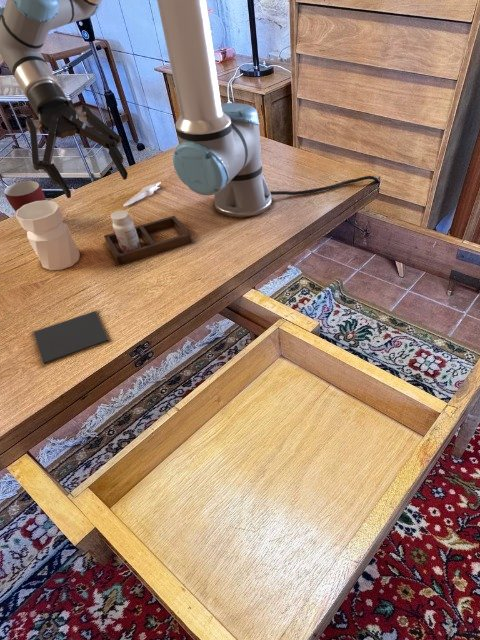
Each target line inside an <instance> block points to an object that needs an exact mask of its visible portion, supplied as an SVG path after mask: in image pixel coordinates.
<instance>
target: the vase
mask: <svg viewBox="0 0 480 640" xmlns="http://www.w3.org/2000/svg"><path fill="white" fill-rule="evenodd" d="M63 216H64V215H63V213H62V211H61V209H60V206H59V205H58V203H57V202H56V201H52V200H48V199H46V200H44V201H35V202H32V203H29V204H26V205H24V206H22V207H21V208H20V209H18V210H17V212H15V218H16V220H17V221H18V224H19V225H20V226H21V227H22V228H23V230H24V231H27V232H26V237H27V241H28V242H29V244H30V246H31V248H32V250H33V251H34V253H35V254H36V256H37V257H38V259H39V261H40V264H41V266H42V268H44V269H46V270H49V271H61V270H65V269H67V268H70V267H72V266H73V265H75V264H76V263H78V261H79V260H80V256H81V255H80V251H79V249H78V246H77V244H76V242H75V240H74V238H73V236H72V233H71V231H70V228H69V226H68V224H67V223H65V222H64V217H63Z"/></svg>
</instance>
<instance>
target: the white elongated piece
mask: <svg viewBox="0 0 480 640" xmlns="http://www.w3.org/2000/svg"><path fill="white" fill-rule="evenodd" d="M160 185H161V181H157V182H156V183H152V184H150V185H147V186H144V187H143V188H142V189H141V190H140V191H139V192H138V193H135V194H134V195H133V196H132V197H130V198H129V199H128V200H126V202H124V203H123V205H122V207H126V206H130V205H132V204H133V203H135V202H138V201H141V200H143V199H144V198H145V197H148V196H149V197H150V196H152V195H153V194H155V192H156V191H157V190H158V189H160V188H161V187H160Z"/></svg>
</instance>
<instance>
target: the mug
mask: <svg viewBox="0 0 480 640" xmlns="http://www.w3.org/2000/svg"><path fill="white" fill-rule="evenodd" d="M3 194H4V196H5V198H6V200H7V202H8V204H9V205H10V206H11V208H12V209H13V211H14V212H15V213H16V212H17V210H18V209H20V208H21V207H22V206H24V205H26V204H29V203H32V202H35V201H44V200H47V199H46V195H45V193H44V190H43V189H42V186H41V185H40V183H39V182H37V181H35V180H23V181H19V182H15V183H11V184H10V185H8V186H7V187H5V188H4V189H3Z"/></svg>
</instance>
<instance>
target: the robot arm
mask: <svg viewBox="0 0 480 640" xmlns="http://www.w3.org/2000/svg"><path fill="white" fill-rule="evenodd" d="M102 1H103V0H6V3H5V6H4V7H0V57H1V58H2V60H3V61H4V63H5V65H6V66H7V67H8V69H9V71H10V72H11V74H12V76H13V77H14V79H15V81H16V82H17V84H18V86H19V87H20V89H21V91H22V93H23V94H24V96H25V97H26V99H27V101H28V103H29V104H30V106H31V108H32V110H33V112H34V113H35V115H36V116H37V118H38V119H32V118H30V117H27V118H25V123H26V124H25V125H26V128H27V131H28V133H29V134H30V135H29V136H30V146H31V147H30V148H31V161H32V167H33V169H34V170H35V171H39V170H43V172H45V173H46V174H47V175H48V177H49V179H50V181H51V182H52V183H53V184H54V185H56V184H58V185H59V187H60V189H61V190H62V191H63V193H64V195H65V197H66V198H67V199H70V198H72V191H71V190H70V188H69V186H68V185H67V183H66V181H65V180H64V178H63V176H62V175H61V173H60V171H59V170H58V168H57V166H56V165H55V163H53V162H52V160H53V155H54V151H55V145H56V144H57V143H56V142H57V138H59V139H61V140H63V139H65V138H67V137H73V136H76V134H77V135H79V136H80V137H81V136H82V137H85V138H87V139H88V140H91V141H93V142H94V143H96V144H97V145H100V146H101V147H104V148H105V149H107V150H108V155H109V157H110V158H111V160H112V162H113V164H114V166H115V167H116V169H117V171H118V172H119V174H120V176H121V178H122V179H123V181H125V180H127V179H128V176H129V175H128V171H127V169H126V167H125V165H124V164H123V163H124V155H122V153H121V151H120V150H119V147H120V146H121V145H122V144H121V143H122V137H121V135H120V134H118V133H117V132H116V131H115V130H113V129H112V128H111V127H110V126H108V125H107V123H105V122H104V121H102V120H101V119H100V118H99V117H98V116H97V115H96V114H94V113H93V112H92V111H91V109H90V108H89V106H88V105H87V104H82V105H81V107H80V108H78V109H75V108H73V106H72V104H71V103H70V101H69V100H68V97H67V96H66V94H65V92H64V90H63V89H62V87H61V86H60V84H59V82H58V79H57V78H56V77H55V75H54V74H53V72H52V70H51V68H50V66H49V65H48V63H47V61H46V60H45V58H44V56H43V54H42V52H41V51H42V48H43V46H44V44H45V42H46V39H47V36H48V34H49V33H50V31H52V30H55V29H59V28H61V27H64V26H66V25H69V24H72V23H75V22H80V21H82V20H88V19H90V18H91V17H93V16H95V15H96V14H98V13H99V11H100V10H101V5H102ZM156 2H157V8H158V12H159V17H160V21H161V27H162V32H163V37H164V42H165V46H166V50H167V57H168V60H169V64H170V70H171V75H172V79H173V85H174V89H175V95H176V99H177V105H178V108H179V113H180V115H179V117H178V119H177V120H176V122H175V124H174V125H175V130H176V135H177V139H178V145H177V146H176V147H175V149H174V152H173V155H172V164H173V168H174V171H175V173H176V176H177V177H178V178H179V180H180V181H181V183H182V184H183V185H185V186H187V188H189V190H191V191H192V192H194V193H196V194H198V195H202V196H213V195H214V197H213V199H214V201H213V202H214V208H215V210H216V211H217V212H218V213H219V214H221V215H223V216H226V217H229V218H236V219H237V218H238V219H239V218H240V219H241V218H251V217H255V216H259V215H262V214H263V213H265V212H266V211H268V210H270V208H271V207H272V204H273V203H272V202H273V201H272V196H279V195H282V196H283V195H284V196H285V195H287V196H298V195H306V194H313V193H317V192H323V191H329V190H332V189H335V188H339V187H342V186H345V185H348V184H354V183H357V182H361V181H362V182H363V181H366V180H373V181H375V182H376V183H381V179H379V178H378V177H376V176H373V175H365V176H361V177H358V178H357V177H356V178H353V179H347V180H343V181H341V182H338V183H335V184H331V185H327V186H323V187H317V188H313V189H312V188H311V189H305V190H296V191H295V190H294V191H291V190H275V191H274V190H271V191H270V188H269V185H268V183H267V180H266V178H265V175H264V172H263V159H262V147H261V133H260V126H261V125H260V121H259V114H258V110H257V109H256V108H255V107H254V106H252V105H250V104H246V103H238V102H223V103H222V99H221V93H220V85H219V79H218V71H217V65H216V64H217V63H216V58H215V50H214V43H213V37H212V36H213V35H212V28H211V22H210V14H209V7H208V1H207V0H156ZM79 118H81V119H83V120H84V121H87V123H88V124H89V125H90V126H89V125H87V124H86V123H85V122H83V121H82V120H80V119H79ZM40 128H42V129H43V130H45V131H47V138H46V144H45V149H44V152H43V158H42V160H41V159H40V152H39V140H38V139H39V138H38V133H39V132H40ZM93 128H94V129H93Z"/></svg>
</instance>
